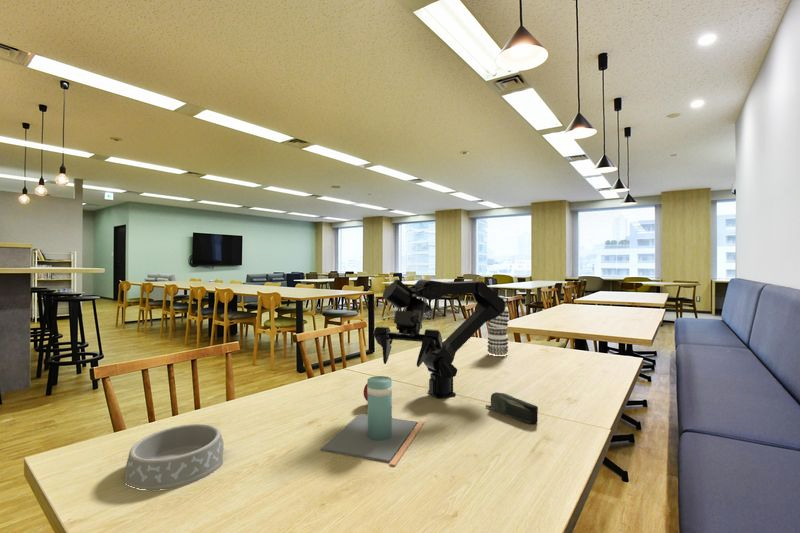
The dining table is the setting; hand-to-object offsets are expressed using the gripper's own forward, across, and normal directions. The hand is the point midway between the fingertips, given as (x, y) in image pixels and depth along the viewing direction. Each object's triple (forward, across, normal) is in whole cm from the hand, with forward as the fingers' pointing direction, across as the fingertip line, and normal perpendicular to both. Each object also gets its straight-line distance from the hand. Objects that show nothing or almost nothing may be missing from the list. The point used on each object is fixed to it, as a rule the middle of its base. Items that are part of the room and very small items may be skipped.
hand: (400, 364), depth 104 cm
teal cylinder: (+18, -1, 0) cm, 19 cm away
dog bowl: (+36, -35, -17) cm, 53 cm away
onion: (+6, -10, +13) cm, 18 cm away
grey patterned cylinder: (-43, +18, +63) cm, 78 cm away
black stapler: (+3, +27, +17) cm, 32 cm away
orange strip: (+19, +6, 0) cm, 20 cm away
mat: (+19, -2, 0) cm, 19 cm away
